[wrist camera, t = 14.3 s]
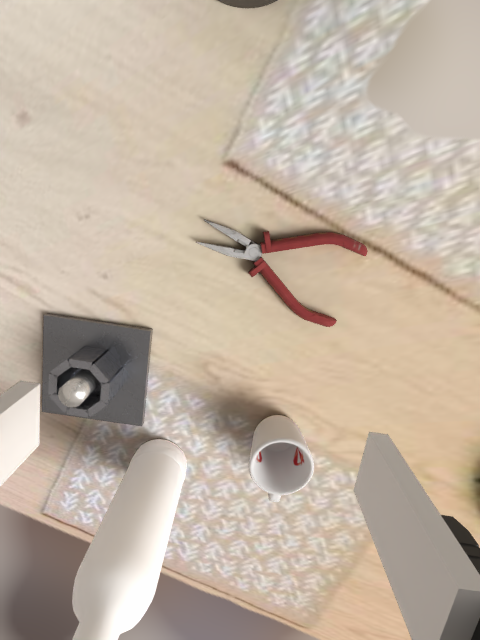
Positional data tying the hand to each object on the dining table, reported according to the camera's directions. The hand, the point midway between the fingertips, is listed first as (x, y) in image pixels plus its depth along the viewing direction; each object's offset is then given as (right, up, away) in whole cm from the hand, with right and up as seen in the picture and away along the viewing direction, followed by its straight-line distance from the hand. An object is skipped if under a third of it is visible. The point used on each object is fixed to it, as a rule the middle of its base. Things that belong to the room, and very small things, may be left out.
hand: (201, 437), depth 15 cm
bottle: (-10, -16, +41) cm, 45 cm away
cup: (+7, -13, +39) cm, 42 cm away
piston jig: (-18, -2, +37) cm, 41 cm away
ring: (-18, -2, +36) cm, 40 cm away
